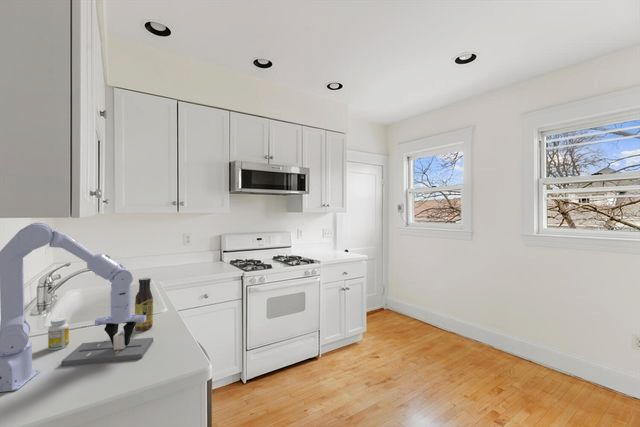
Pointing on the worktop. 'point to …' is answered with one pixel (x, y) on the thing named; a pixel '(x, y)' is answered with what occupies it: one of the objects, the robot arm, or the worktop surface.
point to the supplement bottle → (58, 334)
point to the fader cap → (119, 340)
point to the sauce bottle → (144, 304)
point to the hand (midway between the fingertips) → (121, 344)
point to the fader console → (107, 352)
